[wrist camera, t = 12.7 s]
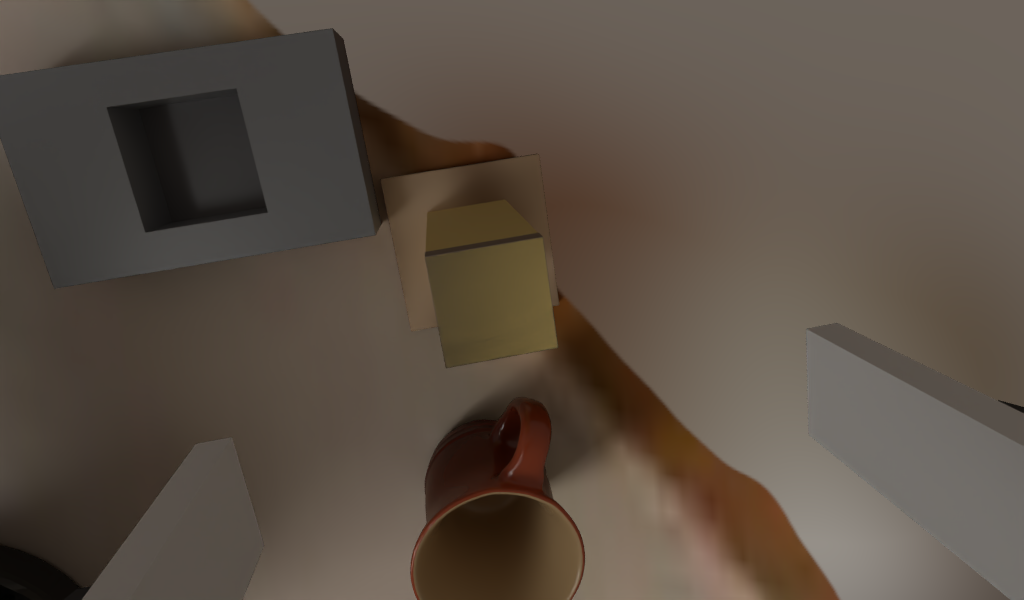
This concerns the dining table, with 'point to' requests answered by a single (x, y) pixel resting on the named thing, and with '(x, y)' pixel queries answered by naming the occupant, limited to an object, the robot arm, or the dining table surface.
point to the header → (189, 156)
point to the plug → (488, 283)
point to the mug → (496, 515)
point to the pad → (452, 190)
